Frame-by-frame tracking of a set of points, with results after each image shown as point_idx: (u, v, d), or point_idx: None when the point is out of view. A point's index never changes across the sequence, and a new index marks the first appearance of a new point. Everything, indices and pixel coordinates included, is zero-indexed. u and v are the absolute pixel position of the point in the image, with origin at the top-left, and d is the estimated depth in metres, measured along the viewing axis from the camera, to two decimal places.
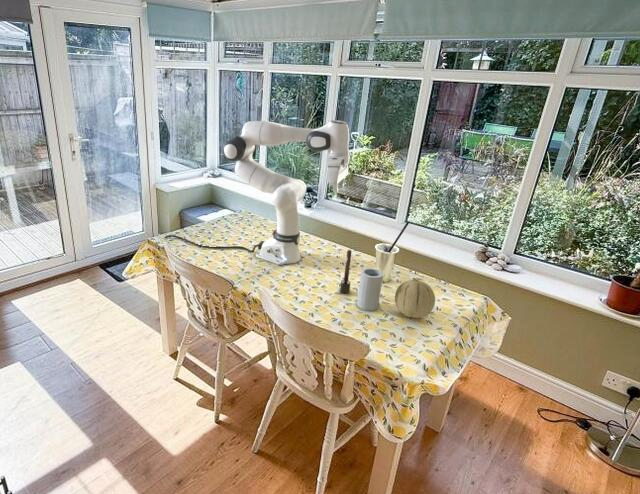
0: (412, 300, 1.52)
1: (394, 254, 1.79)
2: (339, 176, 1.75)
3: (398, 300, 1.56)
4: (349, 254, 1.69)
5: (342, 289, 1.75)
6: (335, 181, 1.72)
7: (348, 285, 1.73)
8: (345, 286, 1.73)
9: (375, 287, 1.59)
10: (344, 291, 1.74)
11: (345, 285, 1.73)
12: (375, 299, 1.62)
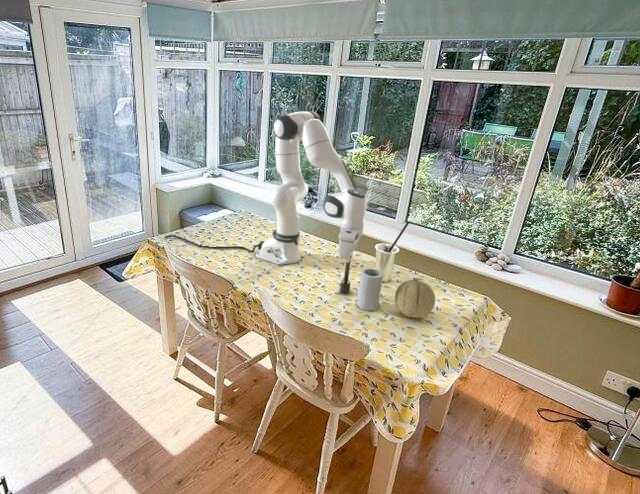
0: (412, 300, 1.52)
1: (394, 254, 1.79)
2: (351, 250, 1.63)
3: (398, 300, 1.56)
4: None
5: (342, 289, 1.75)
6: (347, 257, 1.60)
7: (348, 285, 1.73)
8: (345, 286, 1.73)
9: (375, 287, 1.59)
10: (344, 291, 1.74)
11: (345, 285, 1.73)
12: (375, 299, 1.62)
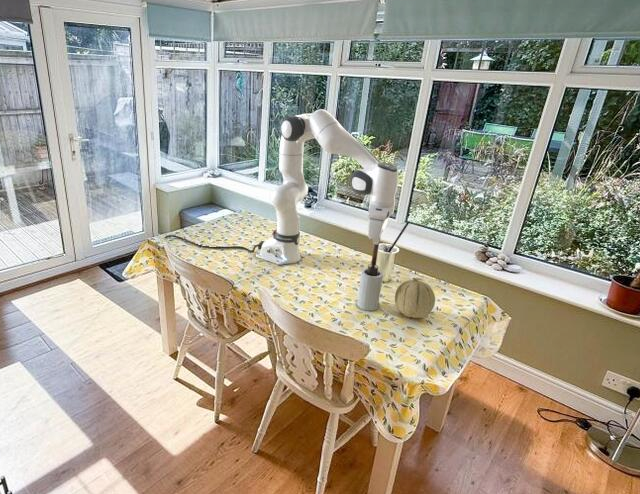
0: (412, 300, 1.52)
1: (394, 254, 1.79)
2: (381, 229, 1.49)
3: (398, 300, 1.56)
4: None
5: (369, 274, 1.60)
6: (377, 236, 1.45)
7: (376, 269, 1.59)
8: (373, 271, 1.59)
9: (375, 287, 1.59)
10: None
11: (373, 269, 1.59)
12: (375, 299, 1.62)
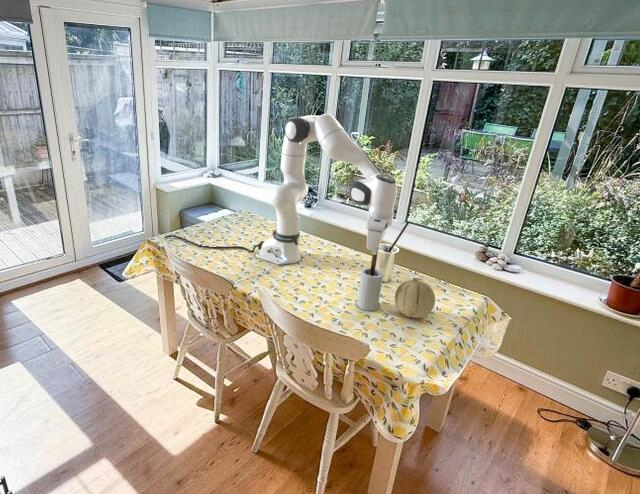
0: (412, 300, 1.52)
1: (394, 254, 1.79)
2: (379, 240, 1.50)
3: (398, 300, 1.56)
4: None
5: None
6: (375, 247, 1.47)
7: None
8: None
9: (375, 287, 1.59)
10: None
11: None
12: (375, 299, 1.62)
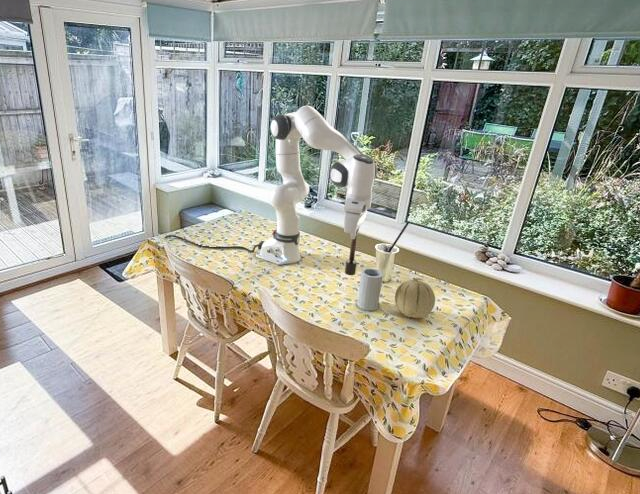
0: (412, 300, 1.52)
1: (394, 254, 1.79)
2: (357, 223, 1.44)
3: (398, 300, 1.56)
4: None
5: (347, 269, 1.56)
6: (353, 230, 1.41)
7: (354, 265, 1.55)
8: (351, 266, 1.55)
9: (375, 287, 1.59)
10: (349, 272, 1.56)
11: (351, 265, 1.54)
12: (375, 299, 1.62)
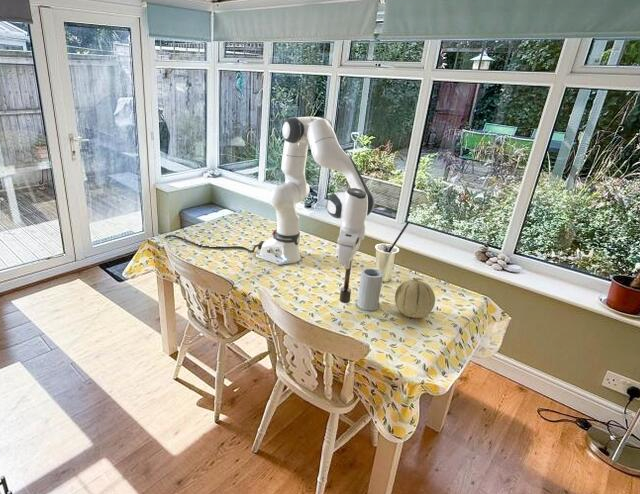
0: (412, 300, 1.52)
1: (394, 254, 1.79)
2: (351, 255, 1.49)
3: (398, 300, 1.56)
4: None
5: (342, 297, 1.60)
6: (346, 262, 1.45)
7: (348, 293, 1.59)
8: (345, 294, 1.59)
9: (375, 287, 1.59)
10: (344, 300, 1.60)
11: (345, 293, 1.59)
12: (375, 299, 1.62)
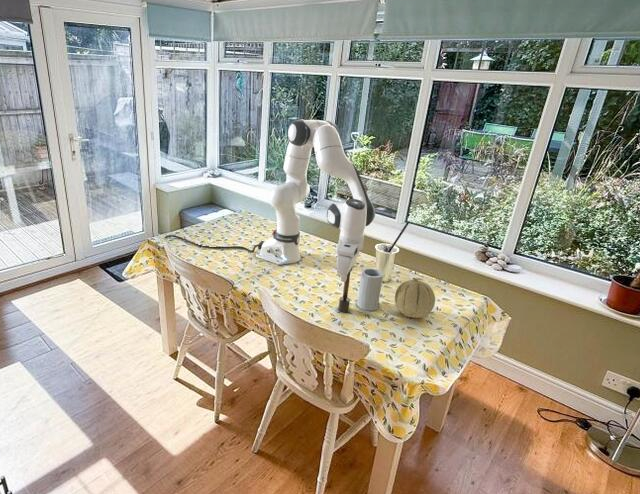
0: (412, 300, 1.52)
1: (394, 254, 1.79)
2: (350, 265, 1.50)
3: (398, 300, 1.56)
4: None
5: (341, 307, 1.62)
6: (345, 273, 1.47)
7: (347, 303, 1.61)
8: (344, 304, 1.61)
9: (375, 287, 1.59)
10: (343, 309, 1.62)
11: (344, 303, 1.60)
12: (375, 299, 1.62)
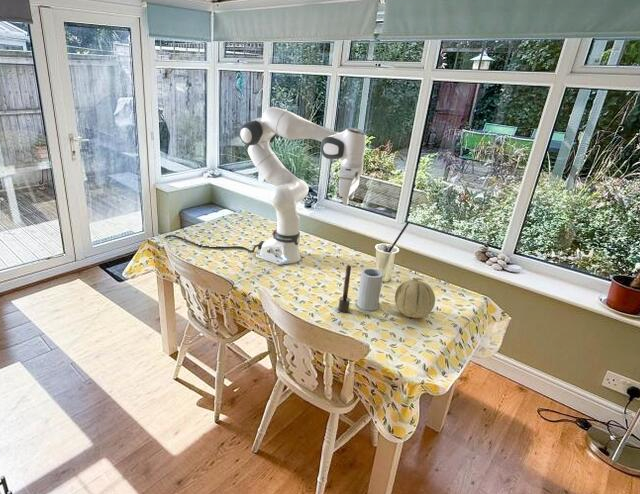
0: (412, 300, 1.52)
1: (394, 254, 1.79)
2: (351, 188, 1.65)
3: (398, 300, 1.56)
4: (348, 270, 1.56)
5: (341, 307, 1.62)
6: (346, 194, 1.61)
7: (347, 303, 1.61)
8: (344, 304, 1.61)
9: (375, 287, 1.59)
10: (343, 309, 1.62)
11: (344, 303, 1.60)
12: (375, 299, 1.62)
